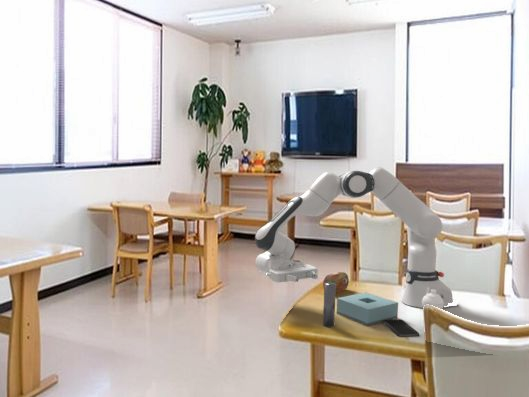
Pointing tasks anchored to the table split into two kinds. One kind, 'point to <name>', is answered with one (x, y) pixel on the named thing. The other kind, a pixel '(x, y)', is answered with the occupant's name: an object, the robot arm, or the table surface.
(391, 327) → the phone
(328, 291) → the pin
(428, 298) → the spinning top
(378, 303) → the hole block
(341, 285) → the tin
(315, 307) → the table surface
